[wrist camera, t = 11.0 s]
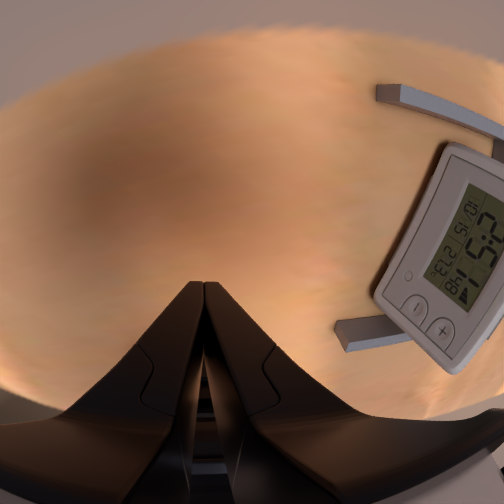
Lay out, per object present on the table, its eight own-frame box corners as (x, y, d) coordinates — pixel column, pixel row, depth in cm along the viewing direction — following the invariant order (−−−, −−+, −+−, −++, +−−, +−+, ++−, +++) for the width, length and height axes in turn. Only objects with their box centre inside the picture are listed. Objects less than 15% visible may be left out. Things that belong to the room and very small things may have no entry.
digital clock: (446, 128, 19) (548, 160, 10) (487, 187, 23) (566, 231, 13) (342, 282, 25) (404, 374, 15) (400, 314, 28) (455, 388, 18)
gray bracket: (460, 309, 30) (484, 334, 25) (334, 330, 27) (353, 368, 22) (509, 135, 20) (545, 146, 16) (377, 84, 17) (420, 84, 13)
